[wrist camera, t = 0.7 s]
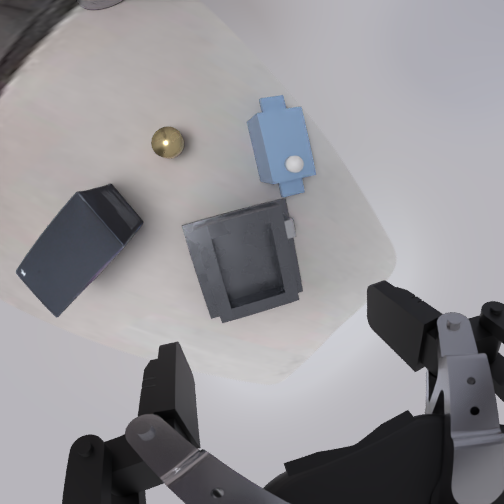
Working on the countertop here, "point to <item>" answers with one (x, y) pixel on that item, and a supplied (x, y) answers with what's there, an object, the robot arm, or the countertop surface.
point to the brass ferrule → (167, 142)
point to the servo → (281, 145)
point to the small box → (78, 246)
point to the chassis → (245, 260)
